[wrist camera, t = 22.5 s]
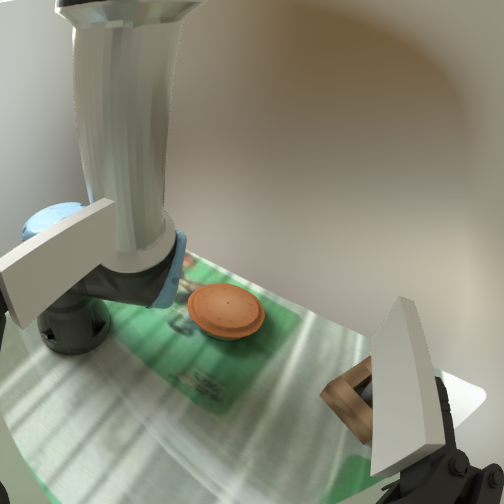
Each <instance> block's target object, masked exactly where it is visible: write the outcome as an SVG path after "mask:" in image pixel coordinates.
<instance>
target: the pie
mask: <svg viewBox="0 0 504 504" xmlns="http://www.w3.org/2000/svg"><path fill="white" fill-rule="evenodd" d="M187 307H188V311H189V315H190V316H191V318H192V319H193V320H194V322H195V323H196V324H197V325H198V326H199V327H200V328H201V329H202V330H203V331H204V332H205V333H206V334H208V335H209V336H211V337H213V338H215V339H219V340H224V341H233V340H237V339H240V338H243V337H245V336H249V335H251V334H253V333H255V332H256V331H258V329H259V328H260V327H261V325H262V324H263V321H264V319H265V313H264V308H263V306H262V304H261V303H260V301H259V300H258V299H257V298H256V297H255V296H254V295H253V294H252V293H250V292H248V291H247V290H245V289H242V288H240V287H238V286H235V285H231V284H212V285H206V286H204V287H201V288H199V289H197V290H196V291H194V292H193V293H192V294H191V296H190V297H189V299H188V306H187Z"/></svg>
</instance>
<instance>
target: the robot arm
mask: <svg viewBox="0 0 504 504" xmlns="http://www.w3.org/2000/svg"><path fill="white" fill-rule="evenodd" d="M3 1H9V0H0V2H3ZM207 1H208V0H56V5H55V12H57V13H58V14H59V15H61V16H62V17H63V18H65V19H66V20H67V21H69V22H70V23H71V24H72V25H73V28H74V29H73V85H74V100H75V112H76V122H77V130H78V139H79V146H80V152H81V158H82V165H83V170H84V176H85V181H86V186H87V191H88V195H89V200H90V204H91V205H89V206H87V207H86V206H84V205H83V204H80V203H73V202H72V203H62V204H57V205H53V206H50V207H48V208H45V209H43V210H41V211H39V212H37V213H36V214H34V215H33V216H32V217H31V218H30V219H29V220H28V221H27V222H26V224H25V225H24V227H23V230H22V241H23V242H22V243H21V245H20V244H19V245H18V246H16V247H15V248H14V249H11V250H10V251H8V252H7V253H5V254H4V255H3V256H1V257H0V350H1V344H2V338H3V333H4V328H5V324H6V316H5V314H4V313H6V312H7V311H9V313H10V316H11V318H12V320H13V322H14V323H15V324H16V325H18V326H19V327H20V328H21V329H22V330H24V329H25V328H26V327H27V326H28V325H29V324H30V323H31V322H32V321H33V320H34V319H36V318H37V323H38V328H39V331H40V334H41V336H42V338H43V340H44V342H45V343H46V344H47V345H48V346H49V347H50V348H51V349H53V350H54V351H56V352H59V353H62V354H67V355H76V354H82V353H85V352H88V351H90V350H92V349H94V348H96V347H97V346H98V345H99V344H101V343H102V341H103V340H104V339H105V338H106V336H107V334H108V332H109V328H110V319H109V313H108V309H107V306H106V304H105V303H104V301H103V299H104V300H109V301H114V302H120V303H126V304H132V305H138V306H144V307H146V308H148V309H150V308H161V309H165V308H169V307H170V306H171V305H172V304H173V303H174V300H175V297H176V294H177V290H178V285H179V279H180V275H181V271H182V266H183V261H184V255H185V249H186V240H187V239H186V235H185V234H184V233H183V232H179V231H178V230H175V225H174V223H173V220H172V218H171V217H170V215H169V214H168V213H167V212H166V211H165V210H164V191H165V167H166V152H167V138H168V137H167V136H168V126H169V114H170V106H171V96H172V88H173V80H174V73H175V66H176V59H177V52H178V47H179V41H180V36H181V30H182V25H183V20H184V18H185V17H186V15H188V14H189V13H191V12H192V11H194V10H195V9H197V8H198V7H200V6H201V5H203V4H204V3H206V2H207ZM370 346H371V362H372V385H373V438H372V460H371V474H370V476H371V477H391V476H393V475H395V474H397V473H399V472H400V479H399V480H397V481H395V482H393V483H391V484H389V485H386V486H385V487H383V488H382V489H381V490H382V491H384V490H386V489H388V488H389V490H388V491H387V492H386V493H385V494H384V495H383V496H382V497H381V498H380V500H379V501H378V502H377V503H376V504H500V500H501V495H502V491H503V486H504V473H503V470H502V468H501V467H500V466H499V465H498V464H495V463H493V464H490V465H489V466H487V467H485V468H484V469H482V470H481V469H478V468H476V467H473V466H470V463H469V459H468V457H467V456H466V454H465V453H464V452H462V451H461V450H459V449H457V448H456V442H455V436H454V428H453V421H452V416H451V413H450V411H451V410H450V405H449V403H448V401H449V400H448V395H447V390H446V387H445V386H444V384H443V382H442V380H441V378H440V377H435V376H434V372H433V368H432V363H431V359H430V355H429V351H428V347H427V344H426V340H425V336H424V333H423V329H422V326H421V322H420V319H419V316H418V313H417V309H416V306H415V303H414V301H412V300H409V299H406V298H404V297H401V296H399V298H398V299H397V301H396V303H395V304H394V306H393V307H392V309H391V311H390V312H389V314H388V315H387V317H386V319H385V320H384V321H383V323H382V325H381V326H380V328H379V329H378V331H377V332H376V334H375V335H374V336H373V338H372V339H371V341H370ZM0 504H10V502H9V497H8V494H7V492H6V489H5V487H4V486H3V484H2V483H1V482H0Z"/></svg>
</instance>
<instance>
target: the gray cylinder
mask: <svg viewBox="0 0 504 504" xmlns="http://www.w3.org/2000/svg"><path fill="white" fill-rule="evenodd" d="M359 396H360V397H361V398H362V399H363V400H364V401H365V402H366V403H367V405H368V406H369V407H370V408H371V407H372V406H373V385H372V381H371V382H370V383H369V384H368V386H367V387H366V388H365V389H364V390H363V391H362V392H361V393H360V394H359Z"/></svg>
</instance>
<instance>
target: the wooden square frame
mask: <svg viewBox="0 0 504 504" xmlns="http://www.w3.org/2000/svg"><path fill="white" fill-rule="evenodd" d="M371 381H372V362H371V356H369V357H367V358H366V359H365V360H363V361H362V362H360V363H359V364H357V365H356V366H354V367H353V368H351V369H350V370H348V371H347V372H345V373H344V374H342V375H341V376H339V377H338V378H336V379H335V380H333V381H331V382H330V383H328V384H327V386H326V387H325V388H324V390H323V391H322V392H321V393H320V396H321V397H322V399H323V400H324V401H325V402H326V403H327V404H328V405H329V407H330V408H331V409H332V410H333V411H334V412H335V413H336V414H337V416H338V417H339V418H340V419H341V420H342V421H343V422H344V423H345V424H346V426H347V427H348V428H349V429H350V430H351V431H352V432H353V433H354V434H355V435H356V437H357V438H358V439H359V440H360V441H361V442H362V443H363V444H365V443H366V442H368V441H369V440H371V439H372V438H373V410H372V409H371V408H370V407H369V406H368V405H367V403H366V402H365V401H364V400H363V399H362V398H361V397H360V396H359V395H358V394H357V393H356V392H355V390H356V389H357V388H359V387H360V386H361V385H363V386H364V387H365V388H366V387H367V386H368V384H369V383H370V382H371Z"/></svg>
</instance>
